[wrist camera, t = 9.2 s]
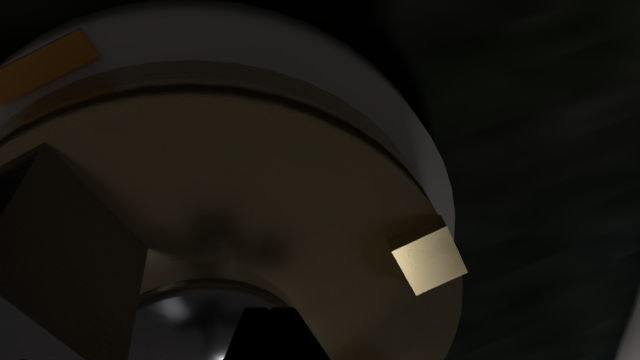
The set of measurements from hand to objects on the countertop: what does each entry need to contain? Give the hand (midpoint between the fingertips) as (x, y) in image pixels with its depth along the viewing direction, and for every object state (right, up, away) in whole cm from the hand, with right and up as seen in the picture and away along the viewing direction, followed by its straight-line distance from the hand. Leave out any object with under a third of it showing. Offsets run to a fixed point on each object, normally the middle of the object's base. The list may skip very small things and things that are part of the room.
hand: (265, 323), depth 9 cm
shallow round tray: (-3, -1, +9) cm, 10 cm away
